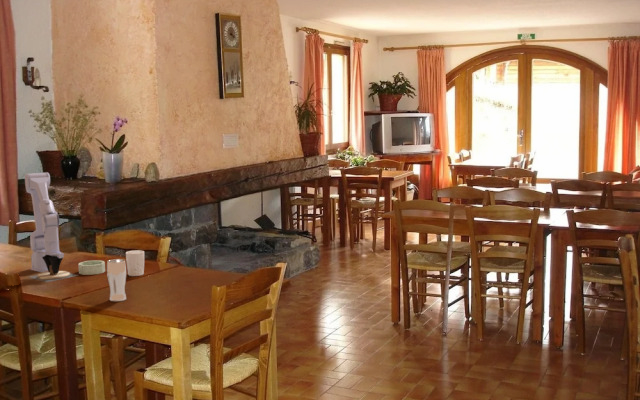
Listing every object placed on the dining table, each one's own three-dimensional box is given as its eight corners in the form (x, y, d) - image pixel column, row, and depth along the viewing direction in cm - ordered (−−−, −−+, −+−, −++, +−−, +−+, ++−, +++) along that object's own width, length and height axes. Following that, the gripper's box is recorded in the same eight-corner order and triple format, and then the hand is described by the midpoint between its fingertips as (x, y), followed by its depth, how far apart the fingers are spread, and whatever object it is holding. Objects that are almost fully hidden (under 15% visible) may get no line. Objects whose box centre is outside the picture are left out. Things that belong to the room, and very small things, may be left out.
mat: (28, 278, 308) (28, 277, 307) (59, 272, 319) (59, 270, 319) (47, 283, 298) (47, 282, 298) (79, 276, 310) (78, 275, 310)
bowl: (74, 273, 316) (73, 263, 315) (95, 269, 324) (95, 259, 324) (88, 277, 309) (87, 266, 308) (110, 272, 317) (109, 262, 317)
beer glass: (110, 297, 275) (108, 259, 273) (128, 296, 275) (127, 258, 274) (106, 302, 268) (104, 262, 266) (125, 301, 269) (123, 262, 267)
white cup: (140, 276, 308) (139, 254, 307) (123, 276, 310) (122, 253, 309) (148, 272, 316) (147, 250, 315) (131, 272, 318) (130, 250, 316)
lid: (31, 277, 308) (30, 266, 307) (58, 271, 318) (58, 260, 317) (48, 281, 299) (47, 270, 299) (75, 275, 310) (75, 264, 309)
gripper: (33, 241, 308) (35, 271, 310) (52, 244, 299) (54, 276, 301) (49, 238, 313) (50, 269, 315) (67, 242, 304) (69, 273, 306)
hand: (53, 272), depth 308 cm, fingers closed on lid, 3 cm apart
